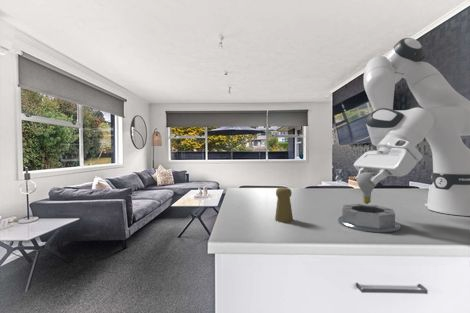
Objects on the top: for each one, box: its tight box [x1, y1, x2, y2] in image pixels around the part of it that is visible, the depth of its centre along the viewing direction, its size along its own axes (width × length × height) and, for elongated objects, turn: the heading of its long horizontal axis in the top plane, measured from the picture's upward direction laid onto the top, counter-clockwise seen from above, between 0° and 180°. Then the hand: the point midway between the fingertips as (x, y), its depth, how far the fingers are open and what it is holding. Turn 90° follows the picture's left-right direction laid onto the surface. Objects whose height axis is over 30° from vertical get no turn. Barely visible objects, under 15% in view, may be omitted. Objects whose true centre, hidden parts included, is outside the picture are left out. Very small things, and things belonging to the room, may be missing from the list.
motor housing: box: [337, 203, 401, 234], centre depth 74 cm, size 17×17×5 cm
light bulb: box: [356, 172, 377, 205], centre depth 74 cm, size 6×6×10 cm
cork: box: [274, 187, 294, 224], centre depth 79 cm, size 6×6×11 cm
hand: (364, 181), depth 74 cm, fingers closed on light bulb, 5 cm apart
